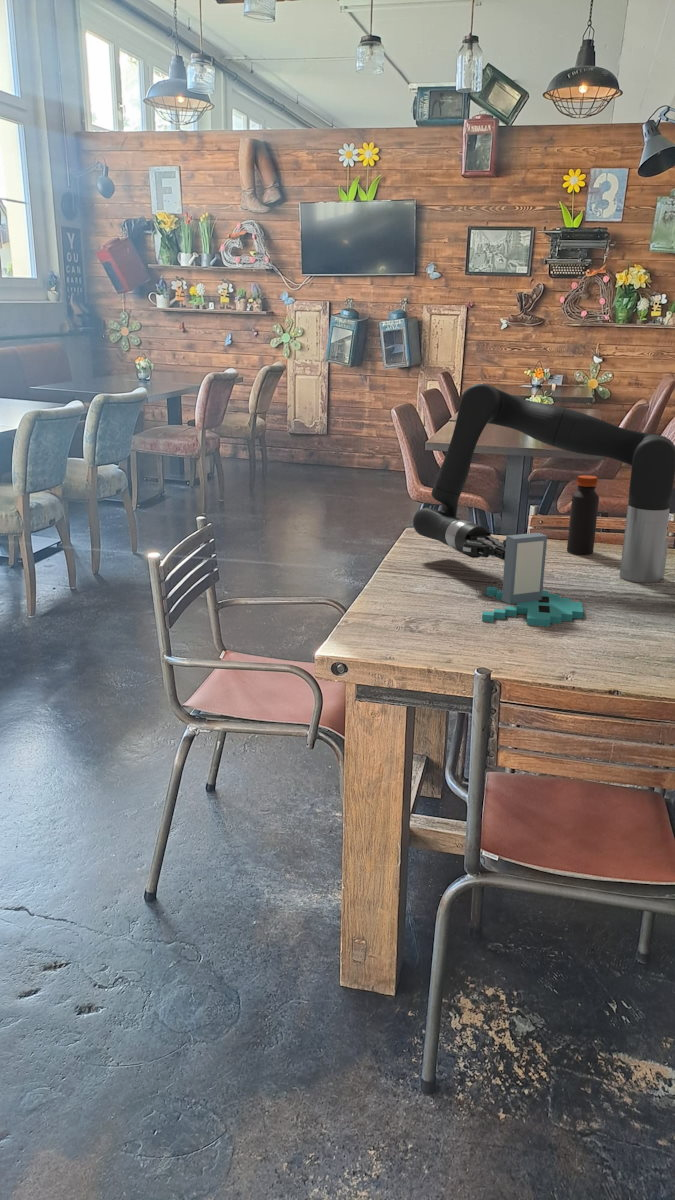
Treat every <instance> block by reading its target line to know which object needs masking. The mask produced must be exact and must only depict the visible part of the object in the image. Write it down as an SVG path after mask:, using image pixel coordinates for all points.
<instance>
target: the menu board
mask: <svg viewBox="0 0 675 1200" xmlns="http://www.w3.org/2000/svg"><path fill="white" fill-rule="evenodd" d="M505 536H506V537H505V538H506V539H505V540H506V548H505V561H503V562H504V564H503V565H504V566H503V576H502V577H503V579H502V589H501V590H502V599H501V601H503V602H505V603H506V604H508V605H515V603H522V602H530V601H538V600H542V591H544V590H543V587H544V580H545V579H544V578H545V577H544V576H545V569H546V568H545V566H546V556H547V555H546V554H547V544H548V543H547V541H548V535H546V534H543V533H541V532H531V533H521V534H520V533H519V534H510V535H509V534H508V535H505Z"/></svg>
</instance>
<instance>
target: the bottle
mask: <svg viewBox="0 0 675 1200" xmlns="http://www.w3.org/2000/svg"><path fill="white" fill-rule="evenodd" d="M597 485H598V477H597V476H595V475H587V474H586V475H577V481H576V487H577V490H576V491H575V492H574V493H573V494H572V495H571V506H570V512H569V522H568V523H569V525H568V535H567V542H566V543H567V545H566V551H567V553H570V554H572V555H576V556H577V555H578V556H580V555H581V556H586V555H587V556H588V555H591V554H593V553H594V549H595V548H594V547H595V540H596V530H597V529H596V528H597V521H598V512H599V510H598V509H599V503H600V501H599V500H600V497H599V495H598V494H597V492H596V488H597Z"/></svg>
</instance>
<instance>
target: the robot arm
mask: <svg viewBox="0 0 675 1200" xmlns="http://www.w3.org/2000/svg"><path fill="white" fill-rule="evenodd" d="M487 424H488V425H489V424H491V425H495V426H496V425H497V426H501V427H506V428H509V429H513V430H516V431H519V432H520V433H522V434H524V435H526V436H529V438H532V439H534V440H536V441H538V442H541V443H543V444H545V445H548V446H551V447H555V448H558V449H561V450H564V451H567V452H571V453H576V454H581V455H588V456H597V457H605V458H609V459H614V460H616V461H619V462H622V463H625V464H627V465H630V466H631V469H630V470H631V471H630V481H629V488H628V500H627V501H628V502H627V511H626V517H625V518H626V520H625V527H624V535H623V542H622V544H623V545H622V552H621V559H620V561H621V562H620V570H619V577H620V578H622V579H623V580H626V581H631V582H635V583H657V582H659V581H661V580H662V579H664V578H665V572H666V563H667V557H668V550H669V541H670V540H669V539H668V538H667V532H668V523H669V518H670V517H669V516H670V507H671V502H672V497H673V487H674V481H675V480H674V479H675V443H674V442H673V441H672V440H671V439H669V438H668V437H667V436H664V435H661V434H660V435H659V434H653V433H647V432H642V431H637V430H631V429H626V428H624V427H620V426H618V425H614V424H612V423H610V422H608V421H605V420H602V419H600V418H598V417H595V416H592V415H590V414H585V413H583V412H581V411H580V412H579V411H577V410H573V409H570V408H567V407H564V406H558V405H554V404H551V403H550V404H549V403H546V402H545V403H544V402H540V401H539V402H538V401H531V400H527V399H523V398H520V397H517V396H515V395H512V394H510V393H508V392H505V391H503V390H501V389H499V388H497V387H495V386H492V385H490V384H484V383H475V384H472V385H470V386H469V387H467V388H466V389H465V390H464V391H463V393H462V395H461V397H460V402H459V406H458V411H457V417H456V421H455V425H454V429H453V433H452V436H451V439H450V443H449V445H448V448H447V451H446V454H445V456H444V458H443V461H442V464H441V466H440V468H439V470H438V471H439V472H438V473H437V476H436V479H435V481H434V484H433V486H432V490H431V497H432V499H434V500H435V501H437V502H439V503H441V510H438V509H435V508H429V507H424V508H421V509H420V508H419V510H418V511H417V512H416V513H414V516H413V518H412V526H413V528H414V530H415V532H416V533H417V534H418V535H420V536H422V537H425V538H428V539H432V540H436V541H438V542H441V543H442V544H444V545H446V546H448V547H450V548H452V549H453V550H454V551H457V552H458V553H461V554H463V555H465V556H467V557H469V558H473V559H478V558H485V559H487V558H489V557H490V558H493V559H495V558H498V559H500V560H502V561H503V562H505V548H506V539H503V540H502V541H500V539H498V538H496V537H494V536H492V535H491V533H490V531H489V530H488V529H487V528H486V527H484V526H481V525H479V524H476V523H474V522H472V521H469V520H464V519H461V518H458V517H457V513H458V505H459V500H460V497H461V494H462V492H463V490H464V487H465V485H466V481H467V480H468V477H469V472H470V470H471V469H470V468H471V464H472V460H473V456H474V453H475V449H476V447H477V444H478V441H479V438H480V436H481V435H482V433H483V432H484V429H485V428H486V426H487Z"/></svg>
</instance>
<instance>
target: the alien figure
mask: <svg viewBox="0 0 675 1200" xmlns="http://www.w3.org/2000/svg"><path fill="white" fill-rule="evenodd" d="M486 596H492V597H495V600H502V589H501V590H500V589H499V590H498V587H497V586H496V587H495V586H486ZM515 604H516V606H511V605H510V606H509V605H508V606H507V605H505V609H502V608H494V610H493V611H487V610H484V611H482V613H481V615H482V616H481V622H491V623H493V622H494V619H496V620H497V619H499V620H506V617H514V618H515V617H517V615H518V614H519V615H520V614H521V615H526V625H529V626H536V627H537V626H539V627H540V626H541V627H551V624H559V625H561V624H562V621H564V622H572V621H573V619H582V620H583V619H584V607H583V603H582V601H571V597H570V598H569V597H561V596H560V594H558V593H557V594H556V593H555V594H554V593H550V592H549V590H543V591H542V600H538V601H530V602H522V603H515ZM515 604H514V605H515Z"/></svg>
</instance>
